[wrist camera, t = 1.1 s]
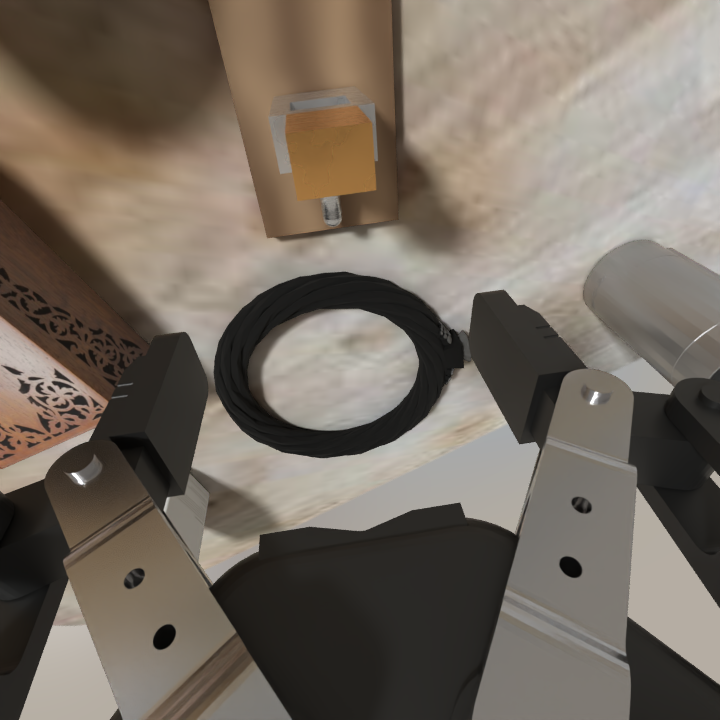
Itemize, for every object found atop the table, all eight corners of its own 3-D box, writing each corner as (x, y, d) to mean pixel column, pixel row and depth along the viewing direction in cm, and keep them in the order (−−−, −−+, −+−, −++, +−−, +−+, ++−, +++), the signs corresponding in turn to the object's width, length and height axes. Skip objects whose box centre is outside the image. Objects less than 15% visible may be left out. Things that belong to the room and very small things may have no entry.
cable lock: (160, 324, 38) (468, 243, 37) (169, 303, 41) (456, 227, 40) (265, 483, 56) (477, 431, 55) (267, 460, 59) (468, 411, 58)
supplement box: (119, 477, 56) (75, 592, 45) (179, 460, 56) (150, 572, 44) (157, 509, 62) (126, 618, 50) (211, 494, 61) (193, 601, 50)
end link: (354, 86, 30) (393, 119, 18) (365, 212, 36) (399, 295, 24) (273, 96, 30) (262, 136, 18) (297, 221, 35) (301, 310, 24)
